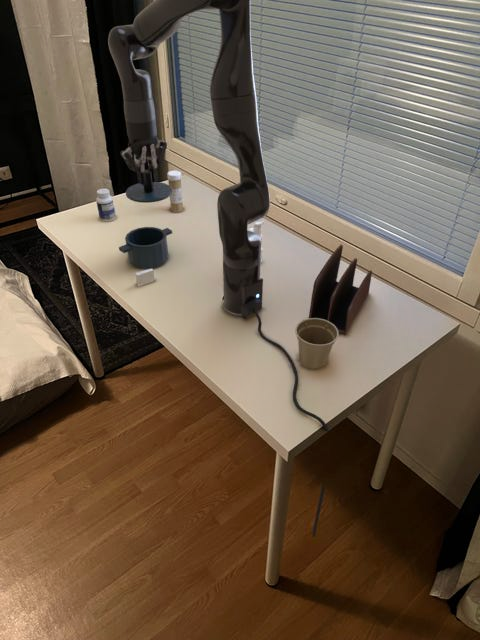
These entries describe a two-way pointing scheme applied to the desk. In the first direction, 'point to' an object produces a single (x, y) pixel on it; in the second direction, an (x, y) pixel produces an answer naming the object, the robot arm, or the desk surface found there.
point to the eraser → (144, 277)
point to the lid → (149, 190)
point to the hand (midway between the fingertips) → (148, 182)
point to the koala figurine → (257, 230)
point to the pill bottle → (105, 205)
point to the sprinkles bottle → (175, 191)
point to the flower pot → (315, 341)
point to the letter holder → (338, 294)
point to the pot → (146, 247)
